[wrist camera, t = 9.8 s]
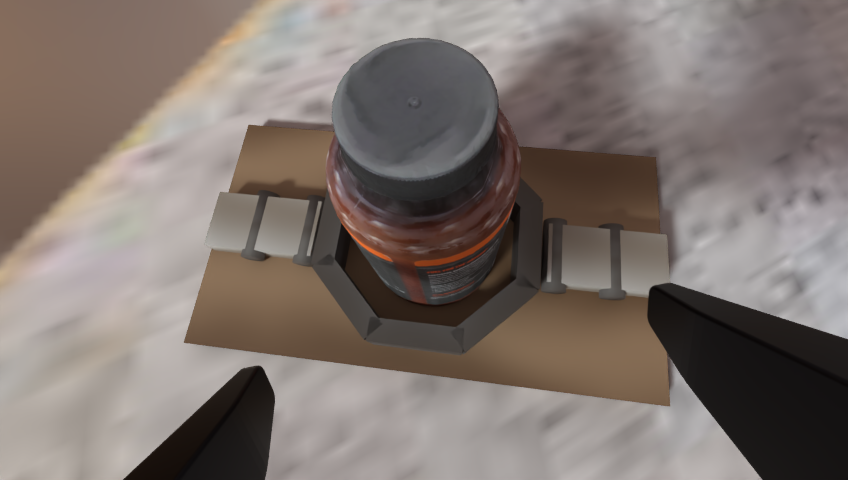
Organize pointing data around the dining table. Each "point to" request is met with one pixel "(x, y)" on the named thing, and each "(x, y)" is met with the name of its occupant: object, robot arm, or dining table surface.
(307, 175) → the octagonal bottle holder
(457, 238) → the supplement bottle
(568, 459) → the dining table surface
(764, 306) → the dining table surface
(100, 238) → the dining table surface
